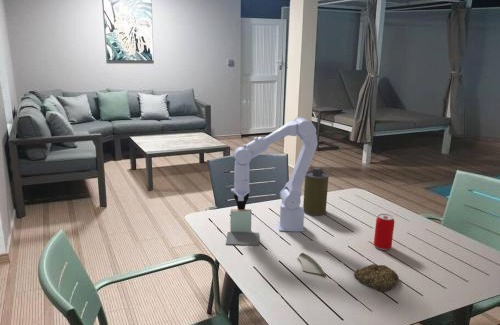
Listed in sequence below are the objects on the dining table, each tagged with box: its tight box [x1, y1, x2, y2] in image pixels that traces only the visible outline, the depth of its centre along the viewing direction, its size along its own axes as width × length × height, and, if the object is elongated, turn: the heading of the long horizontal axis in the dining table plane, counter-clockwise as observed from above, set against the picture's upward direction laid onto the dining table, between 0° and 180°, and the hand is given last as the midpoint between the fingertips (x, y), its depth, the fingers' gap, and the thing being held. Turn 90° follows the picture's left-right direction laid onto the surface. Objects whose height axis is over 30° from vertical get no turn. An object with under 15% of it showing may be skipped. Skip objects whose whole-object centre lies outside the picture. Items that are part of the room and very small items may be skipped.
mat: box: [225, 231, 260, 246], centre depth 150 cm, size 12×10×1 cm
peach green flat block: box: [229, 208, 253, 232], centre depth 155 cm, size 8×2×9 cm, turn 89°
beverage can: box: [373, 213, 395, 251], centre depth 144 cm, size 6×6×12 cm
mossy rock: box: [353, 263, 399, 292], centre depth 124 cm, size 13×12×5 cm
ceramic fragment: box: [296, 252, 327, 277], centre depth 130 cm, size 14×5×4 cm, turn 27°
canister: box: [302, 166, 330, 217], centre depth 175 cm, size 11×10×20 cm
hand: (241, 211), depth 156 cm, fingers closed
